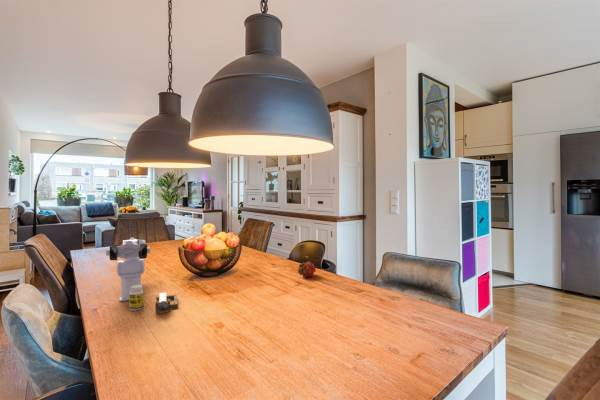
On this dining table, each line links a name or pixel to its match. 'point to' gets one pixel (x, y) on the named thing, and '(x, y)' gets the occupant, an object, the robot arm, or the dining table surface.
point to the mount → (170, 306)
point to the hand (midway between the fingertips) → (127, 254)
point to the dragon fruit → (307, 269)
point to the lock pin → (162, 302)
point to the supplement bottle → (136, 298)
